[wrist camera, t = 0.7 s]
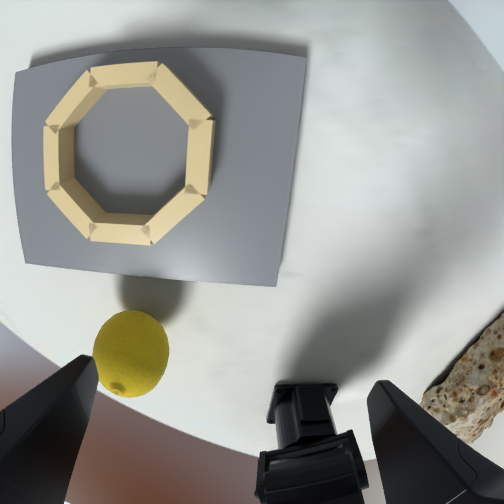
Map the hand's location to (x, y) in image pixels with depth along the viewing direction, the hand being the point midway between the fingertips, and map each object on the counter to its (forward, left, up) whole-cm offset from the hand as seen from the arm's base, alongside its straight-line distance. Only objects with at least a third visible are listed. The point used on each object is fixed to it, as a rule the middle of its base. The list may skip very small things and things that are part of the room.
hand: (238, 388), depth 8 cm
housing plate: (+4, +7, -13) cm, 16 cm away
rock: (-16, -33, -14) cm, 39 cm away
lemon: (-8, +7, -14) cm, 17 cm away
